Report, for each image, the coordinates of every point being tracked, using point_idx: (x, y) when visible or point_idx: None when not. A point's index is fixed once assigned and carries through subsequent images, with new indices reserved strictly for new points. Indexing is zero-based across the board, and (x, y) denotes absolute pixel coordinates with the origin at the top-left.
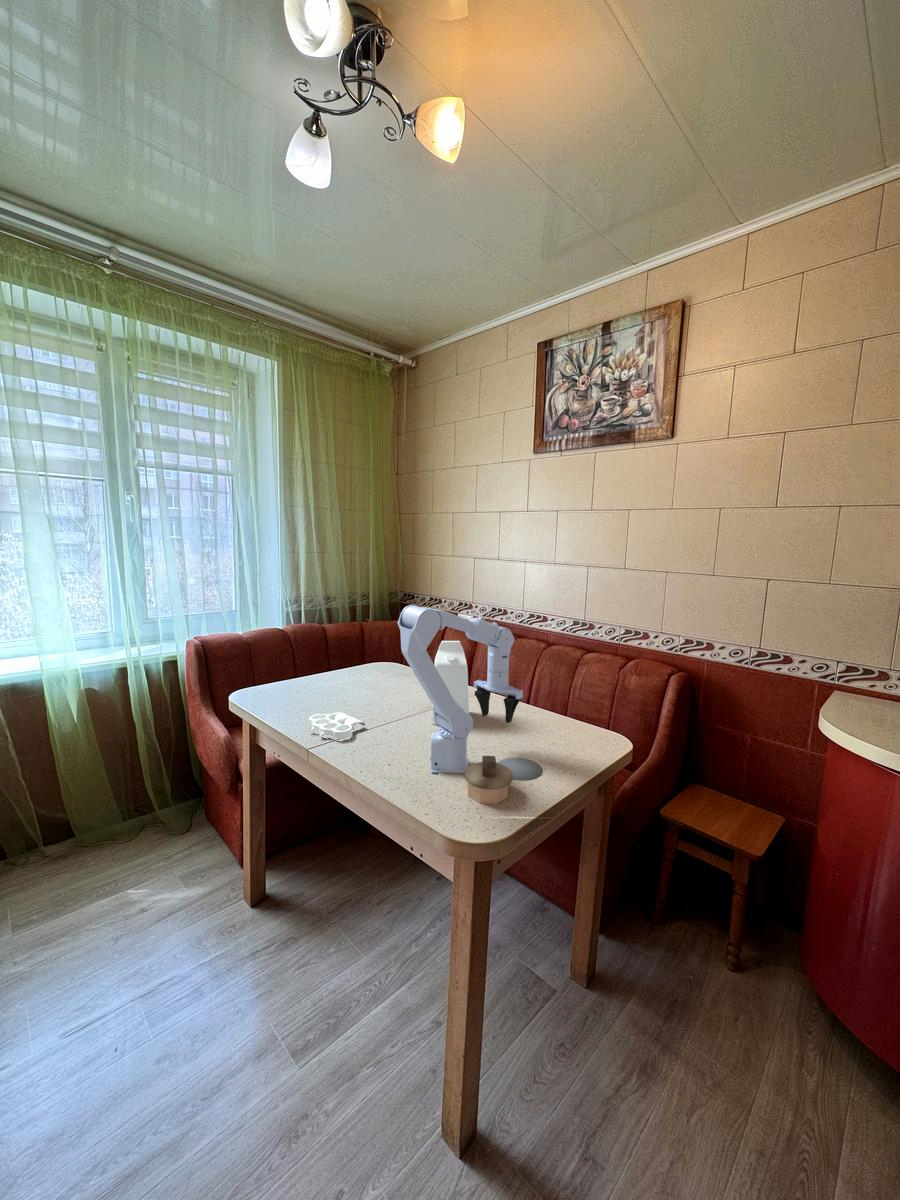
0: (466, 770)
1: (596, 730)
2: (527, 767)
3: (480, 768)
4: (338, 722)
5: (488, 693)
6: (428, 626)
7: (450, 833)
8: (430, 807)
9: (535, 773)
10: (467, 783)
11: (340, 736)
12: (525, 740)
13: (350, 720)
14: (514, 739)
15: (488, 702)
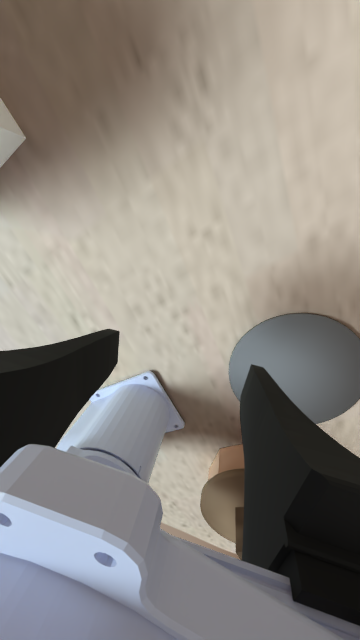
0: (204, 513)
1: None
2: (318, 363)
3: (229, 502)
4: None
5: (23, 401)
6: None
7: (234, 551)
8: (180, 514)
9: (347, 385)
10: (208, 479)
11: None
12: (268, 151)
13: None
14: (223, 169)
15: (78, 357)
